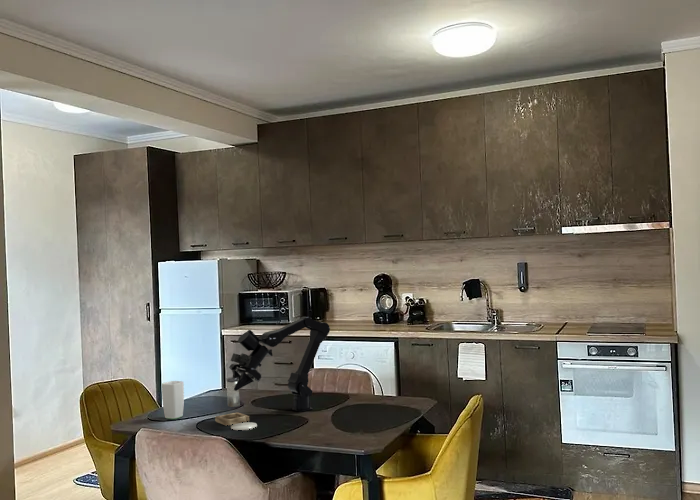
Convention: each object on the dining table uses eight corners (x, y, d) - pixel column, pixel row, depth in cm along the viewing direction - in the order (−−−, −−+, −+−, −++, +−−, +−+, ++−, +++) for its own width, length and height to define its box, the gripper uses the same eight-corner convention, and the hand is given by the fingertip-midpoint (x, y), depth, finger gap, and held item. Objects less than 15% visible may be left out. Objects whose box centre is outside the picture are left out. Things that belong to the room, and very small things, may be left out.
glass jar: (235, 403, 261) (234, 376, 261) (242, 405, 257) (240, 377, 257) (225, 405, 257) (224, 378, 257) (231, 407, 254) (230, 379, 254)
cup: (186, 416, 271) (185, 381, 272) (173, 420, 265) (172, 384, 265) (174, 415, 275) (172, 380, 275) (161, 419, 269) (159, 383, 269)
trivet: (249, 422, 257) (249, 421, 257) (261, 427, 249) (261, 425, 249) (226, 427, 251) (226, 425, 251) (238, 432, 243) (238, 430, 243)
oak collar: (237, 417, 267) (237, 412, 267) (249, 421, 259) (249, 416, 259) (215, 421, 261) (215, 416, 261) (226, 425, 253) (226, 420, 253)
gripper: (232, 343, 268) (208, 374, 261) (253, 347, 253) (228, 379, 246) (250, 360, 272) (227, 390, 266) (271, 365, 257) (247, 397, 251)
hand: (232, 389), depth 257 cm, fingers closed on glass jar, 5 cm apart
